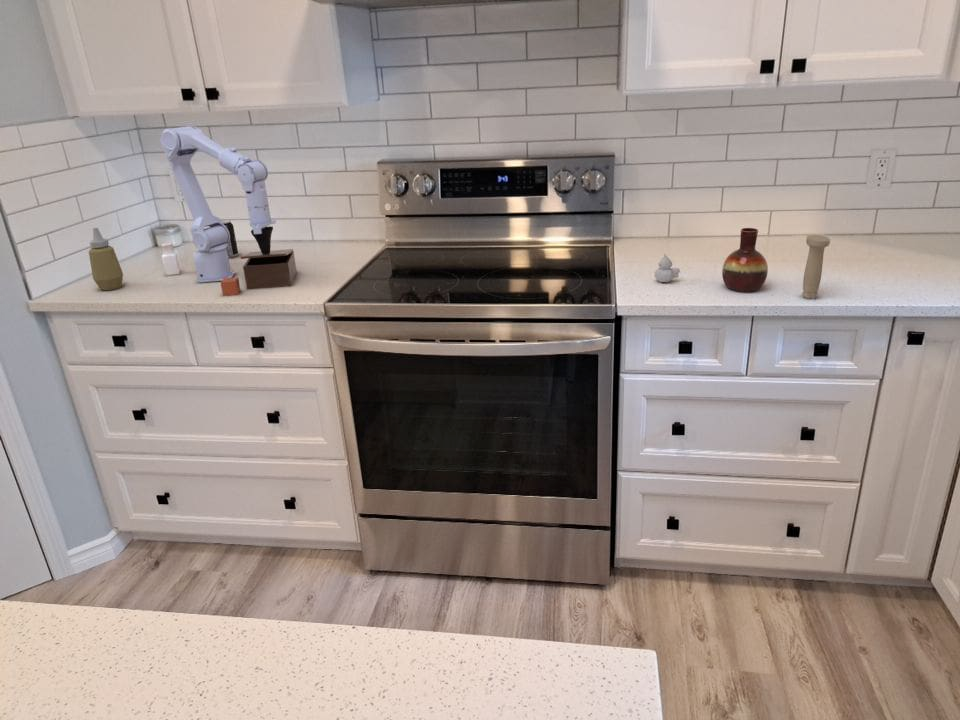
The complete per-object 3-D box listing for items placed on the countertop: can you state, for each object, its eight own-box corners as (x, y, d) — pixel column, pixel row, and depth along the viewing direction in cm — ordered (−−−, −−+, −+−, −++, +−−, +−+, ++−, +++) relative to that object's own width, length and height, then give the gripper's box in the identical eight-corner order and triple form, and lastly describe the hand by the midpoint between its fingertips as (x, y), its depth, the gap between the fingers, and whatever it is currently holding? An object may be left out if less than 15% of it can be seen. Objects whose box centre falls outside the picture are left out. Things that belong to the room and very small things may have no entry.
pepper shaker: (180, 271, 220) (174, 241, 216) (179, 274, 216) (173, 244, 213) (167, 272, 219) (160, 243, 215) (166, 276, 215) (159, 246, 211)
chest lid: (286, 255, 196) (286, 253, 196) (240, 258, 195) (240, 256, 195) (293, 251, 210) (293, 249, 210) (251, 254, 209) (250, 252, 208)
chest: (291, 285, 200) (287, 263, 198) (247, 289, 199) (242, 266, 196) (296, 272, 213) (293, 251, 210) (255, 275, 211) (251, 254, 209)
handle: (815, 293, 176) (824, 234, 170) (823, 301, 170) (833, 241, 164) (795, 293, 176) (803, 235, 170) (802, 301, 170) (812, 241, 164)
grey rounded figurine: (653, 278, 192) (655, 250, 189) (677, 278, 191) (680, 250, 188) (654, 284, 187) (656, 255, 184) (679, 284, 186) (682, 255, 183)
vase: (713, 289, 181) (719, 231, 175) (731, 279, 189) (737, 222, 183) (755, 297, 175) (762, 237, 168) (771, 286, 182) (779, 228, 176)
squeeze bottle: (118, 282, 211) (103, 223, 204) (131, 286, 207) (115, 226, 199) (91, 289, 206) (74, 229, 198) (103, 293, 201) (86, 232, 194)
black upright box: (230, 253, 238) (223, 218, 233) (242, 254, 236) (236, 219, 231) (217, 257, 233) (210, 222, 229) (229, 259, 231) (222, 223, 226)
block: (223, 295, 194) (220, 282, 193) (226, 291, 198) (223, 278, 196) (237, 294, 195) (235, 281, 193) (240, 290, 198) (238, 277, 197)
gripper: (268, 210, 188) (276, 258, 193) (276, 200, 201) (283, 246, 206) (242, 211, 187) (251, 260, 193) (251, 201, 200) (259, 247, 206)
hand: (266, 253), depth 200 cm, fingers closed
